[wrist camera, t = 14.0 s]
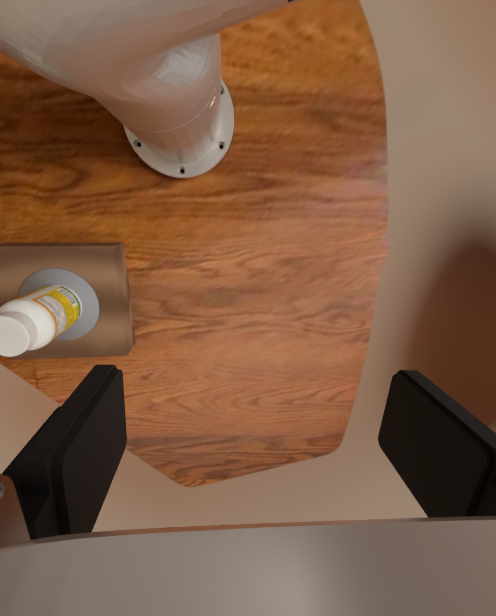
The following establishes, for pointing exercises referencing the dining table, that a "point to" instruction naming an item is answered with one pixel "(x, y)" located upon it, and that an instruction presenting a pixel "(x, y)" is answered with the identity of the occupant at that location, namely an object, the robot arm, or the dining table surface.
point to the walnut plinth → (85, 283)
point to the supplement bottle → (37, 318)
